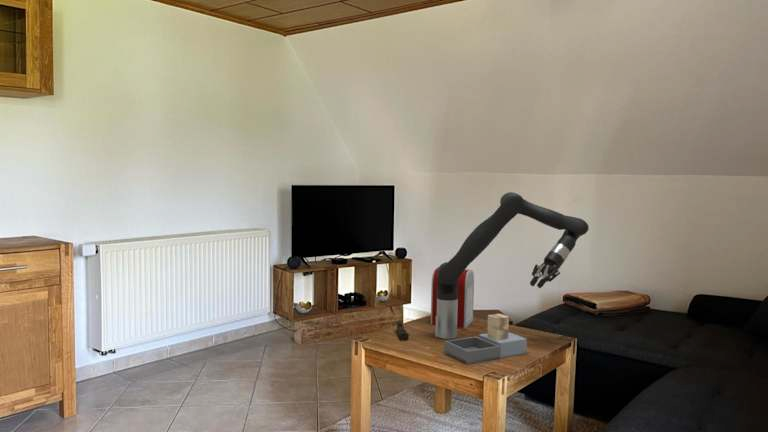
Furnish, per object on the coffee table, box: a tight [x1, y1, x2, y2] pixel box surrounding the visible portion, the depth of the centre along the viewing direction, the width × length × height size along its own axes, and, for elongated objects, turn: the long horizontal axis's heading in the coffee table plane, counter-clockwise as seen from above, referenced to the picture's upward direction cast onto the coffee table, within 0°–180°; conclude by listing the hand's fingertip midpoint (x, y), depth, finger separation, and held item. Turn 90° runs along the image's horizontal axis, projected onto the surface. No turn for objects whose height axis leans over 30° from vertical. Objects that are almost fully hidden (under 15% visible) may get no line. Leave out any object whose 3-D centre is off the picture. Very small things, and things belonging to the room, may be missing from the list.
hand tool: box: [396, 321, 410, 341], centre depth 272 cm, size 19×4×5 cm, turn 4°
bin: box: [443, 335, 501, 365], centre depth 243 cm, size 16×16×5 cm
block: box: [486, 313, 510, 340], centre depth 248 cm, size 6×6×9 cm
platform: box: [478, 331, 528, 359], centre depth 250 cm, size 14×14×6 cm
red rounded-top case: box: [430, 266, 475, 329], centre depth 295 cm, size 17×18×27 cm
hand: (535, 285), depth 257 cm, fingers open, 3 cm apart
